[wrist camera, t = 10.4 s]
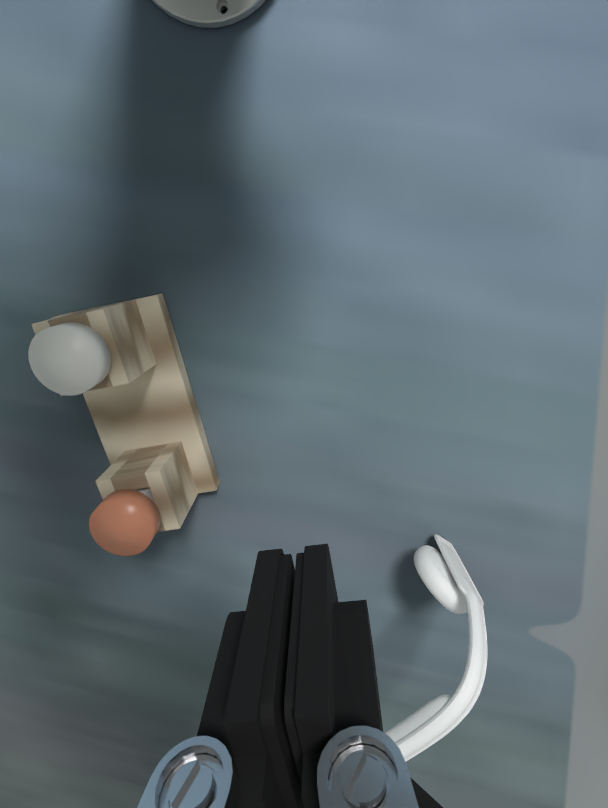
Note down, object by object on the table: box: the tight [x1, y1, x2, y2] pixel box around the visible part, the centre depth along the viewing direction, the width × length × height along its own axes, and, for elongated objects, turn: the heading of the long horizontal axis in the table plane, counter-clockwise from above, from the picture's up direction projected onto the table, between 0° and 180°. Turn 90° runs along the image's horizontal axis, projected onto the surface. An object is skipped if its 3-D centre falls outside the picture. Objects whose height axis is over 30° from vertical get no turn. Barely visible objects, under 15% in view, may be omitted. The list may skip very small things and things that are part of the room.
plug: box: [28, 322, 111, 396], centre depth 36 cm, size 5×5×8 cm
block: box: [31, 293, 220, 532], centre depth 40 cm, size 20×10×8 cm, turn 12°
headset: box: [385, 534, 487, 762], centre depth 42 cm, size 20×7×18 cm, turn 138°
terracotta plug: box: [89, 487, 161, 556], centre depth 40 cm, size 5×5×8 cm
